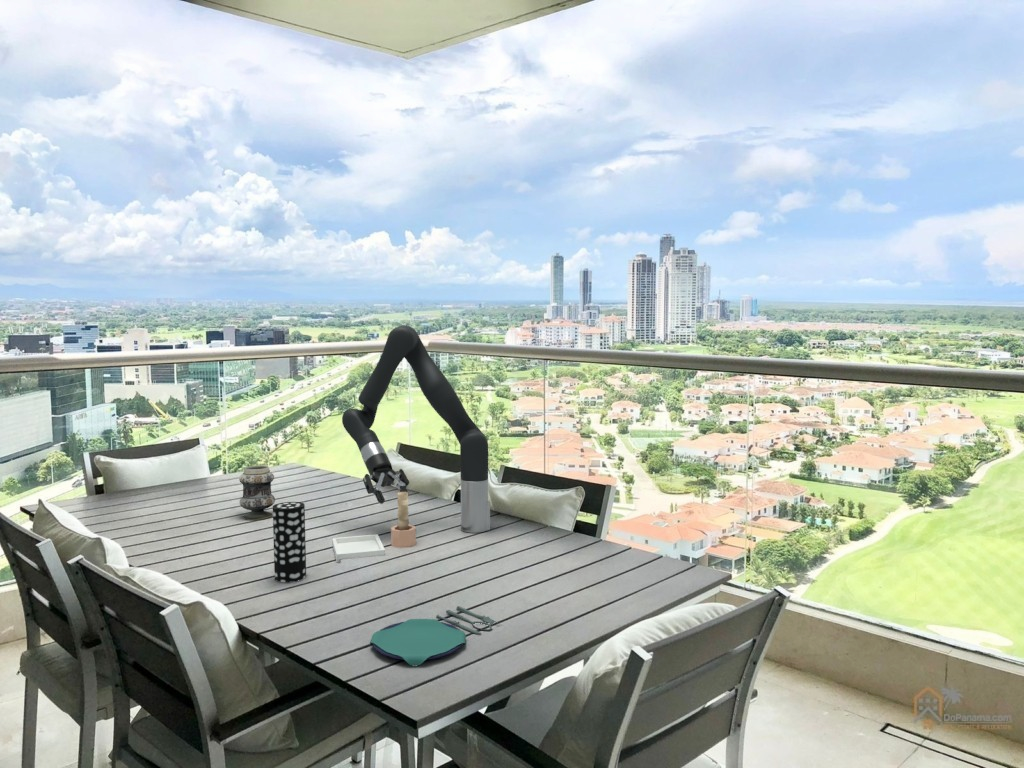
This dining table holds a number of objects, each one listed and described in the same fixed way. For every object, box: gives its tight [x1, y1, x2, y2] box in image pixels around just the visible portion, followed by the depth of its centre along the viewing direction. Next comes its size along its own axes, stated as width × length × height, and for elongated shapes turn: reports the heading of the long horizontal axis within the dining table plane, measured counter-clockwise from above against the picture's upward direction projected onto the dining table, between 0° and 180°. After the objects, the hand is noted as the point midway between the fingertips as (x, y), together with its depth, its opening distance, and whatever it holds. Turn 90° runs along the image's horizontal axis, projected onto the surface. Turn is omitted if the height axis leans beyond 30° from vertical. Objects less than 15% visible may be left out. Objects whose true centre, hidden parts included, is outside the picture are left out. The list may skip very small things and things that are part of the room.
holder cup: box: [390, 524, 417, 549], centre depth 229 cm, size 8×8×6 cm
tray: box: [331, 534, 386, 564], centre depth 224 cm, size 14×17×2 cm
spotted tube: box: [272, 501, 307, 583], centre depth 202 cm, size 8×8×20 cm
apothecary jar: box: [238, 465, 276, 521], centre depth 265 cm, size 12×12×18 cm
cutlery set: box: [369, 605, 497, 666], centre depth 164 cm, size 20×30×2 cm, turn 137°
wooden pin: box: [397, 491, 409, 530], centre depth 229 cm, size 3×3×16 cm
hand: (394, 500), depth 232 cm, fingers open, 8 cm apart
